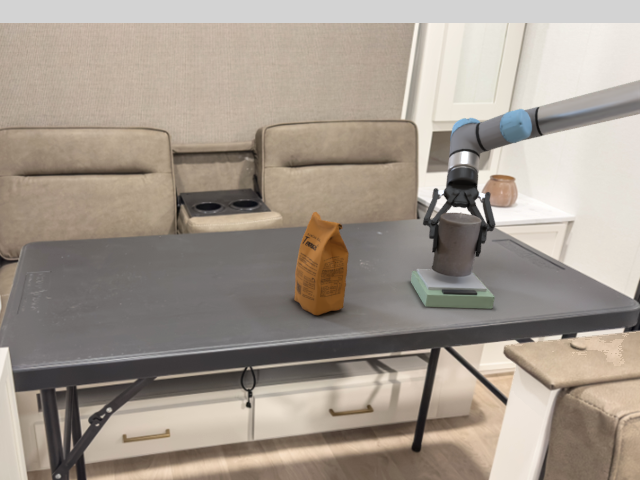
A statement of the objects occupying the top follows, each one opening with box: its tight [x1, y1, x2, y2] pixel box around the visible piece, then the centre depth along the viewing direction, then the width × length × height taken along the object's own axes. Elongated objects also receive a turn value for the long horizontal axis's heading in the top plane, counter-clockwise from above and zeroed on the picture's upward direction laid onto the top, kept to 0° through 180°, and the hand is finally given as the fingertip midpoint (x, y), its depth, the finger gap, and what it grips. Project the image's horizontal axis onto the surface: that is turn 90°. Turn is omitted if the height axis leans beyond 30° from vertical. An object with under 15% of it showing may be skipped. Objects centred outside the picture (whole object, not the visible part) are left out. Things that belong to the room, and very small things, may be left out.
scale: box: [410, 268, 496, 310], centre depth 147 cm, size 16×16×4 cm
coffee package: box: [294, 211, 350, 316], centre depth 136 cm, size 10×12×22 cm
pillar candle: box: [431, 212, 482, 277], centre depth 144 cm, size 10×10×15 cm
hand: (456, 252), depth 142 cm, fingers closed on pillar candle, 9 cm apart
